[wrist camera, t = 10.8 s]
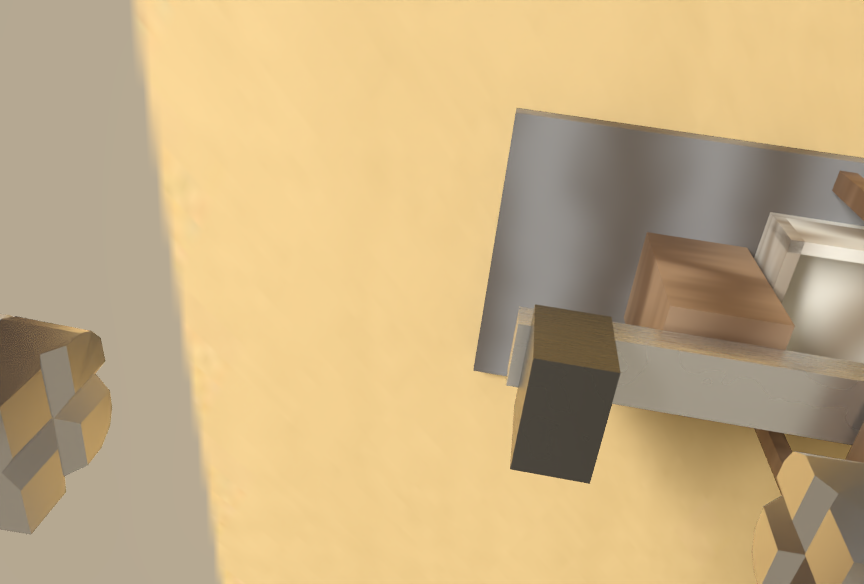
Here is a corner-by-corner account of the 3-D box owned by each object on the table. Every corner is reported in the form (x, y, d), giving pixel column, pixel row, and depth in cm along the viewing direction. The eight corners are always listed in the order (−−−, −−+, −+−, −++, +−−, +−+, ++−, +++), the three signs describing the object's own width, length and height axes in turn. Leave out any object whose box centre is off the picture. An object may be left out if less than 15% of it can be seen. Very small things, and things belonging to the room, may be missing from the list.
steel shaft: (504, 384, 32) (496, 466, 27) (523, 285, 30) (518, 355, 25) (984, 467, 31) (1066, 570, 26) (1044, 369, 28) (1145, 462, 24)
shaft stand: (475, 361, 43) (445, 540, 30) (516, 107, 36) (500, 207, 24) (903, 434, 41) (1057, 657, 29) (1034, 182, 34) (1313, 333, 22)
